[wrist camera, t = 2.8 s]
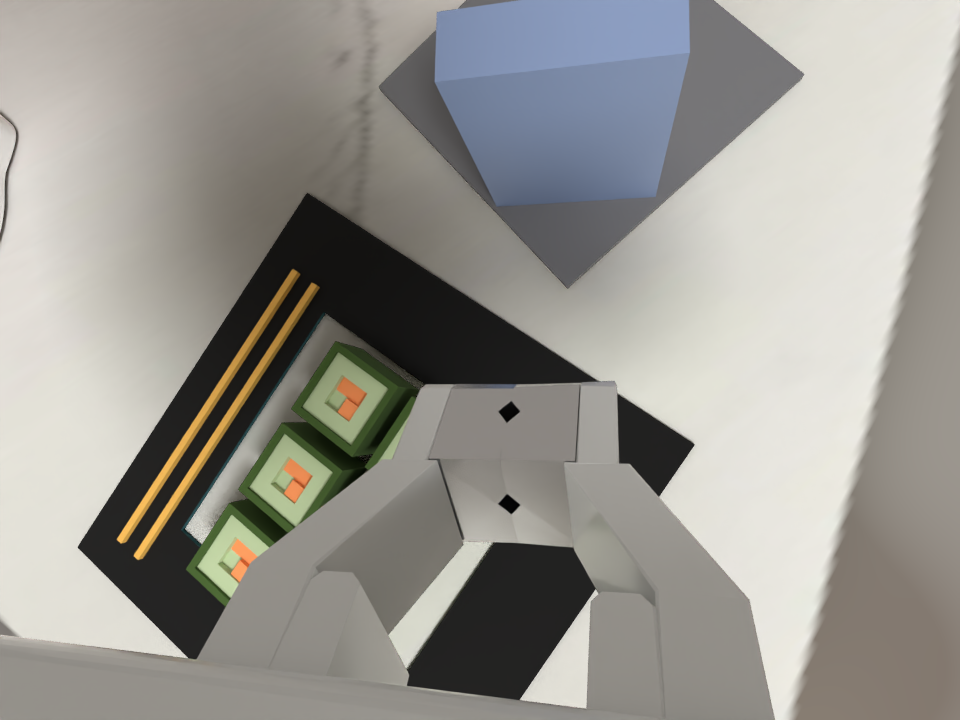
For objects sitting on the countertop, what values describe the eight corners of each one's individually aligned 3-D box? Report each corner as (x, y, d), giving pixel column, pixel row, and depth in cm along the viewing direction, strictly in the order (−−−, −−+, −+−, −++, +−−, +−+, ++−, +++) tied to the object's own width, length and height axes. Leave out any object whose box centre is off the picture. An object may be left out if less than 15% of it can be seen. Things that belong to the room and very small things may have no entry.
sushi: (314, 198, 33) (279, 171, 29) (691, 443, 27) (705, 447, 23) (91, 543, 33) (29, 559, 30) (408, 856, 27) (378, 922, 24)
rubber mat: (381, 90, 32) (378, 86, 31) (578, -104, 30) (578, -110, 30) (567, 288, 28) (567, 286, 28) (801, 79, 27) (804, 74, 26)
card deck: (655, 196, 27) (689, 52, 16) (496, 206, 29) (434, 82, 18) (655, 145, 27) (688, -29, 17) (497, 158, 29) (437, 8, 18)
